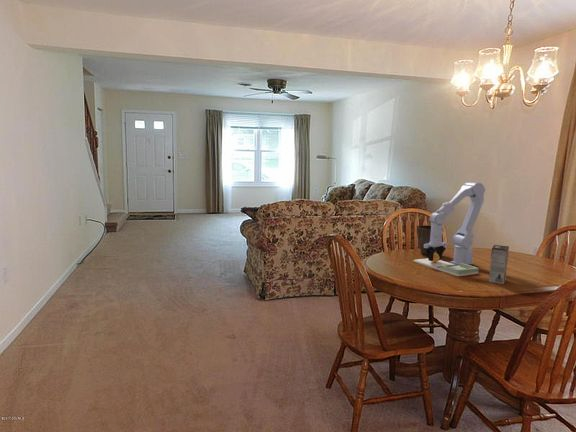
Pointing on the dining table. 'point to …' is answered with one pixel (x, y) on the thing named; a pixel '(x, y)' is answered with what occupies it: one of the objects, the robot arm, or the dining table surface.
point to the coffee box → (498, 264)
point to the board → (449, 267)
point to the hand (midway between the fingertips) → (434, 260)
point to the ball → (435, 257)
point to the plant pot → (424, 237)
